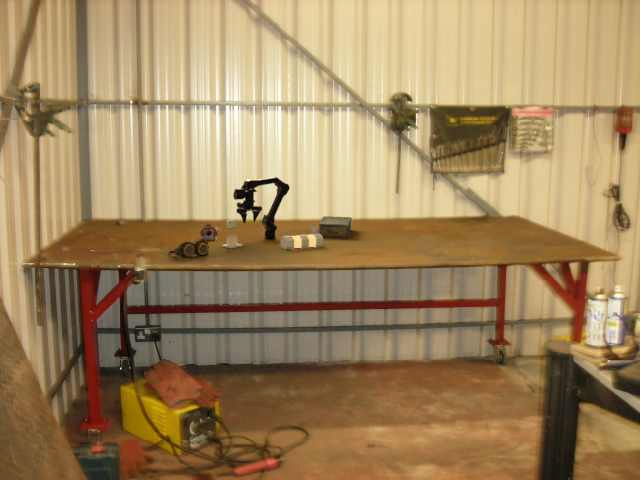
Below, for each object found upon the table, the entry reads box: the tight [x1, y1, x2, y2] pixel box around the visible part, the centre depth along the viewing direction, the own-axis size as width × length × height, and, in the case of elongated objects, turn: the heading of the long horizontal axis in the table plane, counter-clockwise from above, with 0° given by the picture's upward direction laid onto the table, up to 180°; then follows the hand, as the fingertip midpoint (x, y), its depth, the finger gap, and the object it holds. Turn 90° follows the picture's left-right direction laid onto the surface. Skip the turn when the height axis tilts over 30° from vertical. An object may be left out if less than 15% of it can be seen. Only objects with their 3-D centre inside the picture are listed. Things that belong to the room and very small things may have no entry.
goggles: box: [168, 239, 210, 258], centre depth 393 cm, size 24×24×10 cm
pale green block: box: [226, 218, 238, 230], centre depth 414 cm, size 7×2×5 cm, turn 141°
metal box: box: [318, 216, 352, 239], centre depth 463 cm, size 21×32×10 cm, turn 173°
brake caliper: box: [199, 222, 218, 242], centre depth 438 cm, size 11×11×12 cm
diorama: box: [280, 225, 324, 250], centre depth 416 cm, size 25×10×13 cm, turn 115°
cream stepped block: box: [221, 234, 243, 249], centre depth 416 cm, size 10×8×6 cm
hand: (249, 222), depth 434 cm, fingers open, 9 cm apart
